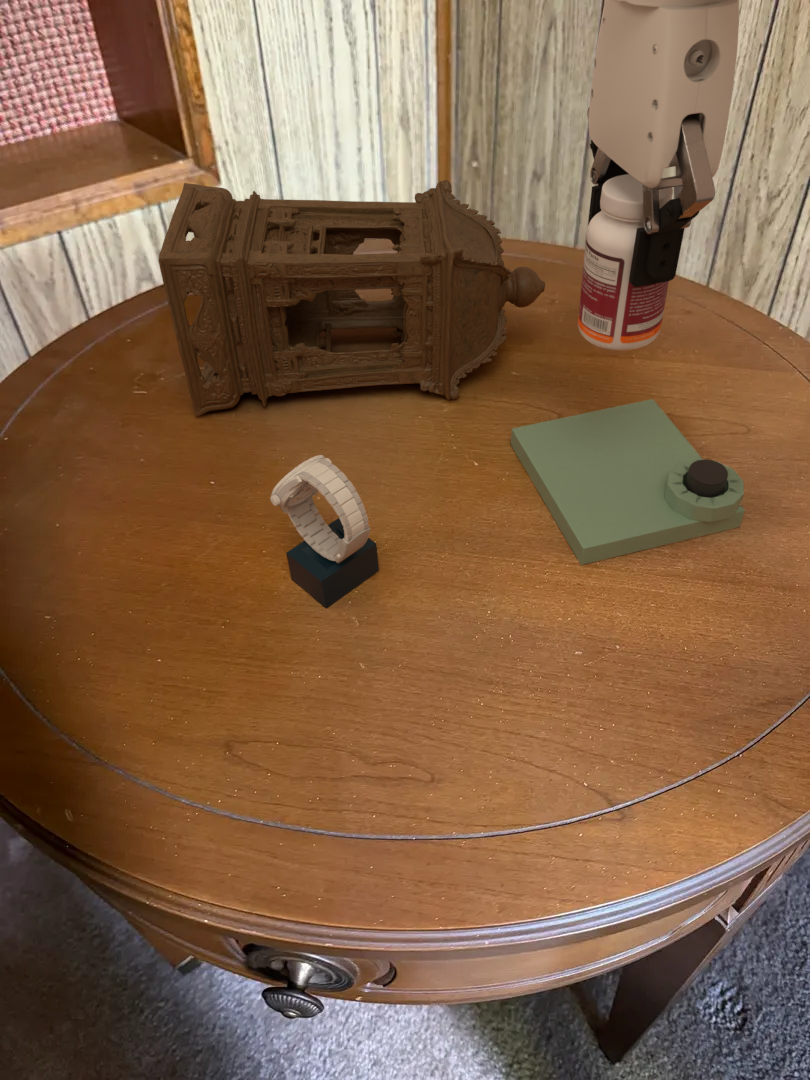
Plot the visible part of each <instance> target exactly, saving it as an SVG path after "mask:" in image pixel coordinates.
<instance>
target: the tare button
mask: <svg viewBox="0 0 810 1080" xmlns="http://www.w3.org/2000/svg"><path fill="white" fill-rule="evenodd" d="M702 459H703V460H697V461H695V462H693V463H692V464H691V465H690V467H689V470H688V474H687V478H686V487H687V489H688V490H689V491H690V492H692V493H694V494H696V495H698V496H701V497H708V498H713V497H717V496H719V495H720V494H721V493H722V492H723V491H724V488H725V484H726V481H727V477H728V471H727V469H726V468H725V467H724V466H723V465H722V464H723V463H722V464H720V463H721V462H720V461H718V462H716V461H717V460H714V461H713V459H705V458H702ZM719 462H720V463H719Z"/></svg>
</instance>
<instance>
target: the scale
mask: <svg viewBox="0 0 810 1080" xmlns="http://www.w3.org/2000/svg"><path fill="white" fill-rule="evenodd" d="M510 433H511V434H510V446H511V448H512V449H513V451H514V453H515V455H516V457H517V458H518V460H519V461H520V463H521V465H522V466H523V468H524V470H525V472H526V474H527V475H528V477H529V478H530V480H531V482H532V484H533V486H534V487H535V489H536V491H537V493H538V494H539V496H540V498H541V500H542V501H543V502H544V505H545V506H546V508H547V510H548V511H549V513H550V515H551V517H552V518H553V519H554V521H555V523H556V525H557V526H558V529H559V530H560V532H561V533H562V535H563V537H564V539H565V540H566V542H567V544H568V545H569V547H570V549H571V551H572V552H573V554H574V556H575V557H576V559H577V561H578V562H579V564H580V566H584V565H588V564H592V563H596V562H599V561H605V560H609V559H612V558H616V557H617V558H618V557H621V556H625V555H629V554H633V553H637V552H642V551H646V550H649V549H654V548H657V547H658V548H659V547H662V546H667V545H671V544H675V543H679V542H683V541H687V540H692V539H696V538H700V537H704V536H708V535H711V534H717V533H721V532H725V531H729V530H732V529H737V528H741V525H742V522H743V519H744V515H745V512H746V509H745V508H744V507H743V506H742V502H743V498H744V495H745V482H744V480H743V478H742V477H741V476H740V475H739V474H738V473H737V472H736V470H735V469H734V468H733V467H731V466H728V465H726V464H724V463H722V462H720V461H717V460H715V459H714V460H713V459H712V460H713V461H716V462H719V463H720V464H722V465H723V466H724V467H725V468H726V469H727V471H728V477H727V481H726V484H725V488H724V491H723V492H722V493H721V494H720V495H719V496H717V497H713V498H708V497H701V496H698V495H696V494H694V493H692V492H690V491H689V490H688V489H687V487H686V478H687V474H688V470H689V467H690V465H691V464H692V463H693V462H695V461H697V460H703V459H704V458H703V457H702V456H701V455H700V454H699V453H698V451H697V450H696V449H695V448H694V447H693V445H692V444H691V443H690V441H688V439H687V438H686V437H685V436H684V435H683V433H682V432H681V431H680V430H679V428H678V427H677V426H676V425H675V424H674V422H673V421H672V420H671V419H670V417H669V416H668V415H667V414H666V413H665V411H663V409H662V408H661V407H660V406H659V404H658V402H656V400H655V399H654V398H651V399H645V400H641V401H637V402H631V403H626V404H621V405H616V406H612V407H607V408H603V409H598V410H594V411H589V412H584V413H579V414H574V415H570V416H565V417H560V418H555V419H550V420H546V421H541V422H536V423H532V424H526V425H521V426H517V427H513V428H511V432H510Z"/></svg>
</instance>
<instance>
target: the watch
mask: <svg viewBox="0 0 810 1080" xmlns="http://www.w3.org/2000/svg"><path fill="white" fill-rule="evenodd" d="M318 492H319V493H320V494H321V495H322V496H323V497H324V499H325V500H326V501H327V502H328V504H329V505H330V506H331V507H332V509H333V511H334V512H335V514H336V515H337V517H338V518H336V519H335V520H333V521H331V522H330V523H326V522H325V520H324V518H323V516H322V515H321V513H319V512H320V511H319V509H318V507H317V505H316V504H315V501H314V498H313V497H315V496H316V495H317V494H318ZM269 500H270V502H271V504H272V505H273V506H274V507H277V506H279V508H280V509H281V511H282V512H283V513H284V514H285V515H286V514H287V516H288V517H289V519H290V521H291V523H292V525H293V527H294V528H295V530H296V531H297V532H298V534H299V536H300V537H301V538H302V539H303V541H301V542H300V543H298V544H297V545H295V546H293V547H291V549H289V550H288V551H286V552H285V554H286V560H287V564H288V570H289V574H290V578H291V581H292V582H294V583H295V584H296V585H297V586H299V588H301V589H302V590H303V591H304V592H306V593H307V594H308V595H309V596H310V597H312V598H313V599H314V600H315V601H316V602H317V603H319V605H321V606H322V607H323V608H325V609H328V608H329V607H331V606H332V605H333V604H335V603H336V602H338V601H339V600H341V599H342V598H344V597H345V596H347V595H348V594H349V593H351V592H352V591H353V590H354V589H356V588H357V587H358V586H360V585H361V584H363V583H364V582H366V581H367V580H368V579H370V578H371V577H372V576H374V575H376V574H377V573H378V572H380V568H379V567H380V566H379V557H378V547H377V546H378V545H377V542H375V541H374V540H372V538H369V537H370V534H371V527H370V524H369V523H370V522H369V516H368V513H367V511H366V508H365V506H364V503H363V501H362V498H361V497H360V494H359V493H358V491H357V489H356V488H355V486H354V485H353V482H352V481H351V480H350V479H349V478H348V477H347V476H346V474H345V473H344V472H343V471H342V470H340V468H339V467H338V466H337V465H335V464H334V463H333V462H332V460H331V459H330V458H328V457H325V456H324V455H323V454H318V455H315V456H312V457H310V458H308V459H306V460H304V461H302V462H300V463H299V464H298V465H297V466H296V467H294V468H293V469H291V470H290V471H289V472H287V474H286V475H284V476H283V477H282V478H281V479H280V480H279V481H278V482H277V483H276V485H275V486H274V487H273V489H272V491H271V495H270V498H269Z"/></svg>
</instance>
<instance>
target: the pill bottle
mask: <svg viewBox="0 0 810 1080" xmlns="http://www.w3.org/2000/svg"><path fill="white" fill-rule="evenodd" d="M673 195H674V187H671V188H666V189H660V190H659V205H660V208H661V207H663V206H664V205H665V204H666V203H667V202H668V201H669V200H671V199H673ZM600 208H601V210H602V211H600V212H599V213H597V214H596V215H595V216H594V217H593V218H592V219H591V221H590V223H589V225H588V224H587V228H586V235H585V243H584V244H585V245H584V256H583V266H582V274H581V275H582V277H581V287H580V295H579V297H580V298H579V307H578V315H577V327H578V331H579V333H580V335H581V336H582V337H583V338H584V339H585V340H586V341H587V342H588V343H590V344H592V345H593V346H595V347H598V348H601V349H603V350H610V351H631V350H637V349H641V348H643V347H646V346H648V345H650V344H651V343H653V342H654V341H655V340H656V339H657V338H658V336H659V335H660V332H661V329H662V324H663V318H664V313H665V312H664V311H665V307H666V301H667V296H668V289H669V283H670V281H667V282H662V283H656V284H651V285H646V286H640V287H634V286H633V285H632V284H631V283H630V282H629V277H630V271H631V264H632V258H633V251H634V244H635V238H636V231H637V228H642V227H644V219H643V192H642V183H640V182H639V181H638V180H636V179H635V178H634V177H632V176H631V175H630V174H626V175H621V176H616V177H613V178H611V179H609V180H607V181H606V182H605V183H604V184H603V187H602V192H601V199H600Z"/></svg>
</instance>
